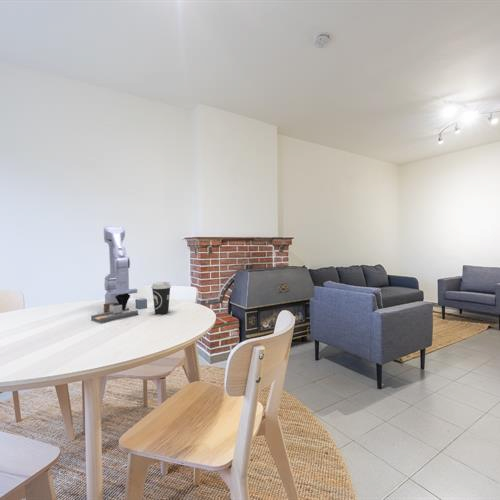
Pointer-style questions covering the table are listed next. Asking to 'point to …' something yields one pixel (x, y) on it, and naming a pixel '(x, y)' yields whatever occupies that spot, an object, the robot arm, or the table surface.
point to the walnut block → (107, 307)
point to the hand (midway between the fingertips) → (122, 309)
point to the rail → (113, 316)
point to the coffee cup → (161, 297)
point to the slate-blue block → (141, 303)
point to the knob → (115, 309)
